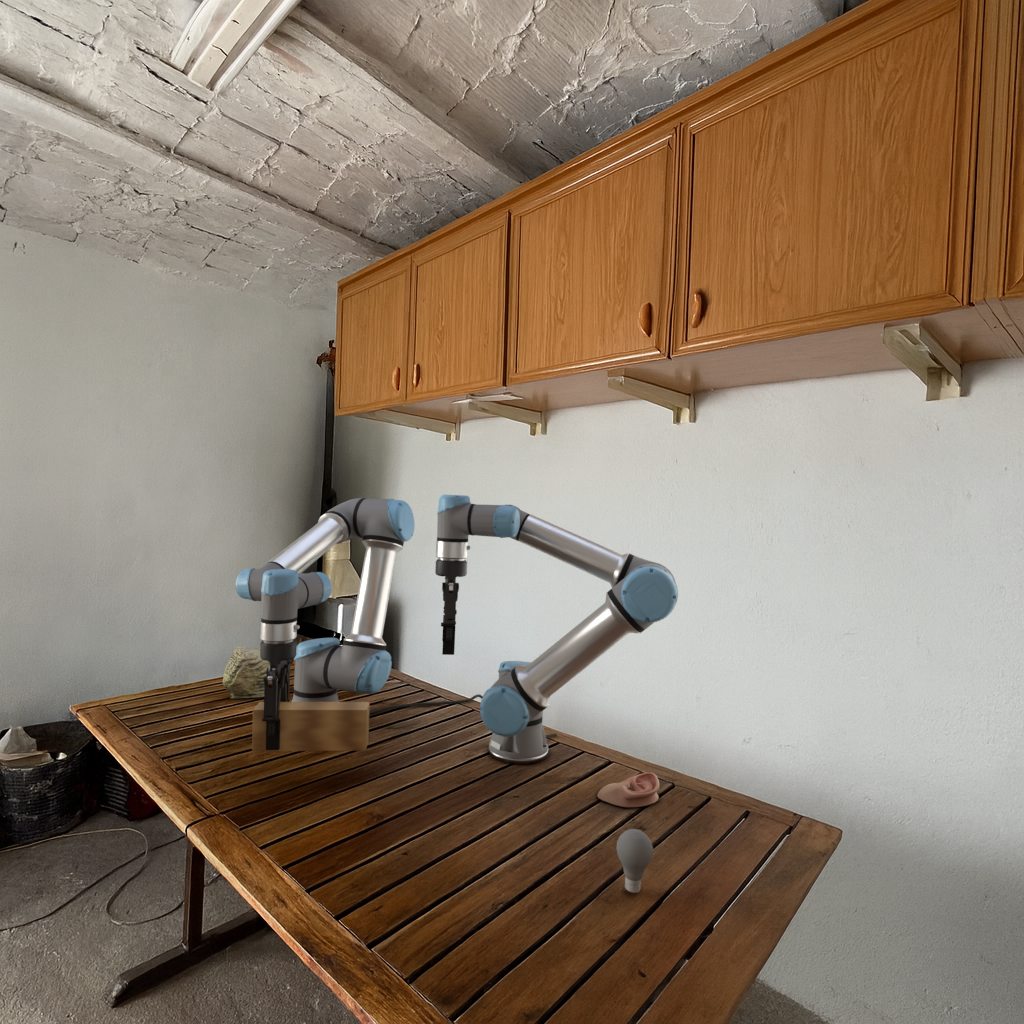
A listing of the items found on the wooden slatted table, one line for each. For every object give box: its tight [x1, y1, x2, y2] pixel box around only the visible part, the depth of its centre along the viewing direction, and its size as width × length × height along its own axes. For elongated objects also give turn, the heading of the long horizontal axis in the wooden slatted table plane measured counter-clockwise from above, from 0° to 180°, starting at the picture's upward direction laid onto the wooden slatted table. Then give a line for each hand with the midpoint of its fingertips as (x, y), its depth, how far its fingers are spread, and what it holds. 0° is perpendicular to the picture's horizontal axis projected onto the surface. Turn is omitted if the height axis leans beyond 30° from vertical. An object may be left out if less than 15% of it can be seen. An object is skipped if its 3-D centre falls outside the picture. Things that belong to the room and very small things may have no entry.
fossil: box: [222, 646, 270, 699], centre depth 198 cm, size 9×18×15 cm, turn 132°
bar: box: [251, 701, 371, 752], centre depth 141 cm, size 24×5×9 cm, turn 96°
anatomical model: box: [596, 771, 660, 808], centre depth 140 cm, size 13×4×12 cm
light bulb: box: [615, 828, 654, 894], centre depth 106 cm, size 6×6×10 cm
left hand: (276, 743), depth 140 cm, fingers closed on bar, 5 cm apart
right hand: (447, 647), depth 152 cm, fingers open, 13 cm apart
